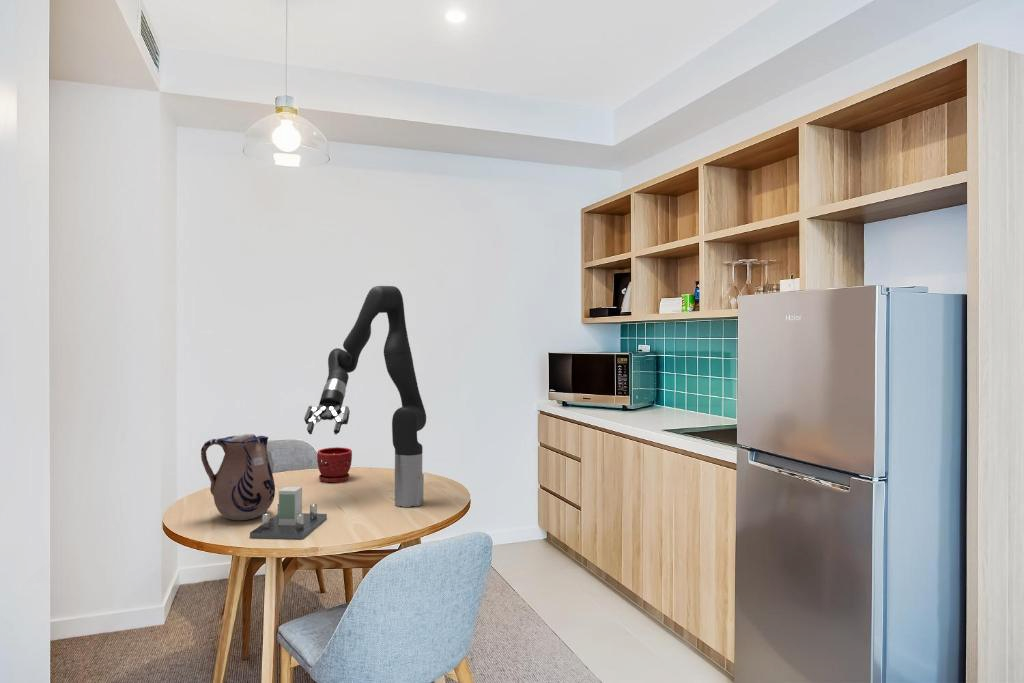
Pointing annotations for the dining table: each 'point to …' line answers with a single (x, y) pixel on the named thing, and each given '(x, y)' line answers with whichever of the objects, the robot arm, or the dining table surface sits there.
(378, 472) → the dining table surface
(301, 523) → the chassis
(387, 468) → the dining table surface
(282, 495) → the block
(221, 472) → the ceramic pitcher
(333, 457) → the plant pot
